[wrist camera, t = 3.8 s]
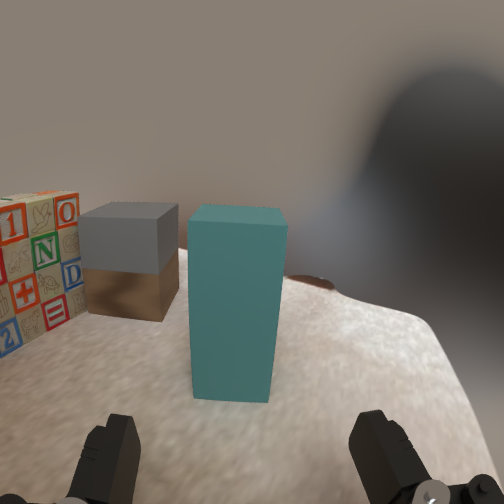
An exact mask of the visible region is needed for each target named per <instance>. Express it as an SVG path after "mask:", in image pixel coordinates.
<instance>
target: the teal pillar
mask: <svg viewBox="0 0 504 504" xmlns="http://www.w3.org/2000/svg"><path fill="white" fill-rule="evenodd" d="M287 230H288V225H287V223H286V221H285V219H284V217H283V215H282V213H281V211H280V209H279V208H266V207H250V206H231V205H211V204H209V205H208V204H202V205H201V207H200V208H199V209H198V210H197V211H196V212H195V213H194V214H193V215H192V216H191V218H190V219H189V220H188V300H189V328H190V350H191V367H192V382H193V396H194V398H198V399H209V400H221V401H238V402H263V403H268V399H269V392H270V384H271V376H272V369H273V361H274V353H275V344H276V336H277V327H278V319H279V310H280V301H281V291H282V282H283V272H284V262H285V251H286V241H287Z"/></svg>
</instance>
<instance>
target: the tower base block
mask: <svg viewBox="0 0 504 504" xmlns="http://www.w3.org/2000/svg"><path fill="white" fill-rule="evenodd" d="M82 274H83V281H84V287H85V294H86V300H87V306H88V311H89V313H92V314H99V315H106V316H113V317H121V318H129V319H137V320H146V321H155V322H162V321H163V319H164V317H165V315H166V313H167V311H168V309H169V307H170V305H171V303H172V301H173V299H174V297H175V295H176V293H177V291H178V289H179V263H178V249H177V250H176V252H175V253H174V254H173V256H172V257H171V258H170V260H169V261H168V263H167V264H166V265H165V267H164V268H163V270H162V271H161V272H160V274H159V275H156V274H143V273H131V272H119V271H107V270H96V269H86V268H82Z"/></svg>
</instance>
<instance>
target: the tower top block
mask: <svg viewBox="0 0 504 504" xmlns="http://www.w3.org/2000/svg"><path fill="white" fill-rule="evenodd" d="M77 221H78V234H79V245H80V255H81V263H82V268H86V269H96V270H107V271H119V272H131V273H143V274H156V275H159V274H160V272H161V271H162V270H163V268H164V267H165V265H166V264H167V263H168V261H169V260H170V258H171V257H172V256H173V254H174V253H175V252H176V250H177V249H178V203H148V202H111V203H108V204H106V205H103V206H101V207H99V208H96V209H94V210H91V211H89V212H87V213H85V214H82V215H80V216H78V217H77Z"/></svg>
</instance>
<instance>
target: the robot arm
mask: <svg viewBox="0 0 504 504" xmlns="http://www.w3.org/2000/svg"><path fill="white" fill-rule="evenodd" d="M349 450H350V453H351V456H352V458H353V461H354V463H355V466H356V468H357V471H358V473H359V476H360V478H361V481H362V483H363V486H364V489H365V491H366V494H367V496H368V499H369V501H370V504H504V495H503V493H502V491H501V490H500V488H499V486H498V484H497V483H496V481H495V480H494V479H493V478H492V477H491V476H489V475H486V474H480V475H477V476H475V477H474V478H472V480H471V481H470V482H469V483H467V484H459V485H451V486H447V485H445V484H444V483H443V482H441V481H439V480H433V479H432V478H431V477H430V475H429V474H428V472H427V470H426V468H425V466H424V465H423V463H422V461H421V459H420V458H419V456H418V454H417V452H416V450H415V449H414V448H413V445H412V443H411V442H410V440H408V436H407V435H406V433H405V431H404V430H403V428H402V427H401V426H400V425H398V424H397V423H396V422H395V421H393V420H390V421H388V420H387V418H386V417H385V415H384V413H383V412H382V411H381V410H373V411H368V412H362V413H360V414H359V416H358V418H357V420H356V423H355V425H354V427H353V430H352V432H351V434H350V437H349ZM140 454H141V445H140V440H139V436H138V433H137V430H136V427H135V423H134V420H133V417H132V416H126V415H118V414H110V416H109V418H108V421H107V424H106V427H103V426H98V425H97V426H96V427H95V428H94V429H93V430H92V431H91V432H90V433H89V434H88V436H87V439H86V441H85V444H84V449H83V450H82V453H81V458H80V459H79V462H78V465H77V468H76V471H75V474H74V477H73V480H72V483H71V487H70V490H69V492H68V494H67V496H66V497H65V498H63V499H61V500H59V501H58V502H57V503H54V504H132V500H133V494H134V488H135V482H136V477H137V471H138V465H139V460H140ZM0 504H37V503H27V502H26V501H25V500H24V499H23V498H21V497H20V496H18V495H15V494H5V495H2V496H1V497H0Z"/></svg>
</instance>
